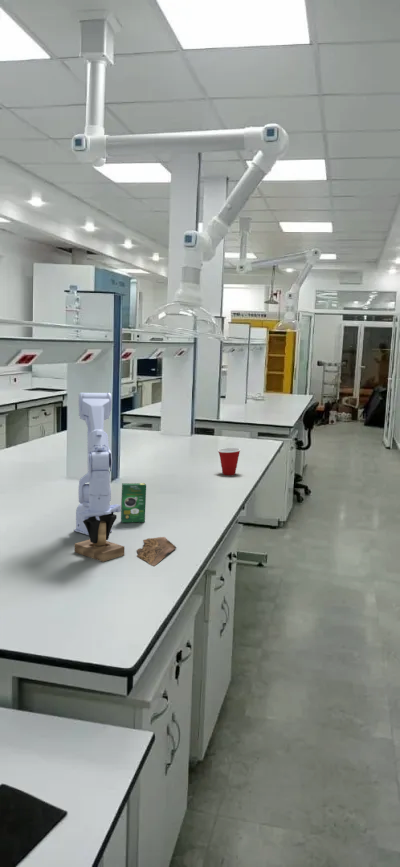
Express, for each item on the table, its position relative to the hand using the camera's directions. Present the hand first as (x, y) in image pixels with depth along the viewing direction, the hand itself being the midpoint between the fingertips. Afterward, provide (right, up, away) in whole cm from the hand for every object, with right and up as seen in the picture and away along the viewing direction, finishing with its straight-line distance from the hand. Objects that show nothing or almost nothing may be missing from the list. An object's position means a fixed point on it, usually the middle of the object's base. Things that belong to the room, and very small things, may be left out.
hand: (99, 540), depth 184 cm
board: (0, -4, 0) cm, 4 cm away
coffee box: (+6, +1, +34) cm, 35 cm away
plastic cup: (+42, +11, +118) cm, 126 cm away
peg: (0, -4, 0) cm, 4 cm away
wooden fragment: (+16, -4, +4) cm, 17 cm away
